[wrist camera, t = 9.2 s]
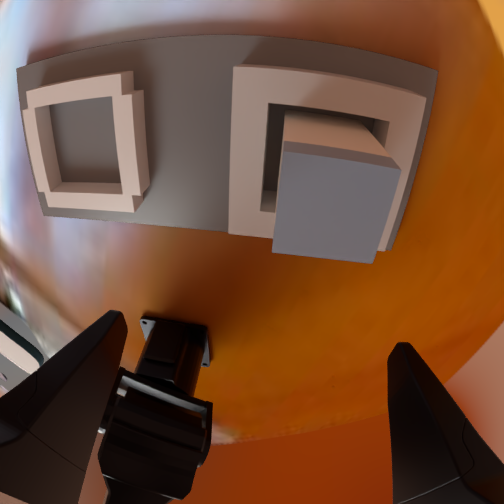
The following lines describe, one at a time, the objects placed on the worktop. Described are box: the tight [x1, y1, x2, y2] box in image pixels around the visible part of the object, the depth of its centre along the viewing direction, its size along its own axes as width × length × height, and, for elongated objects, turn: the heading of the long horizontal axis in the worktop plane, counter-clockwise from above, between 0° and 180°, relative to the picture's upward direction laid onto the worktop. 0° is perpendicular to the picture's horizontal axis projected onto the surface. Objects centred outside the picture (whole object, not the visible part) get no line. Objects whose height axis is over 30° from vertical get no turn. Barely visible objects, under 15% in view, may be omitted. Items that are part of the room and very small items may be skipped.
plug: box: [272, 110, 402, 264], centre depth 13 cm, size 4×4×7 cm
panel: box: [16, 35, 438, 251], centre depth 16 cm, size 12×26×4 cm, turn 87°
